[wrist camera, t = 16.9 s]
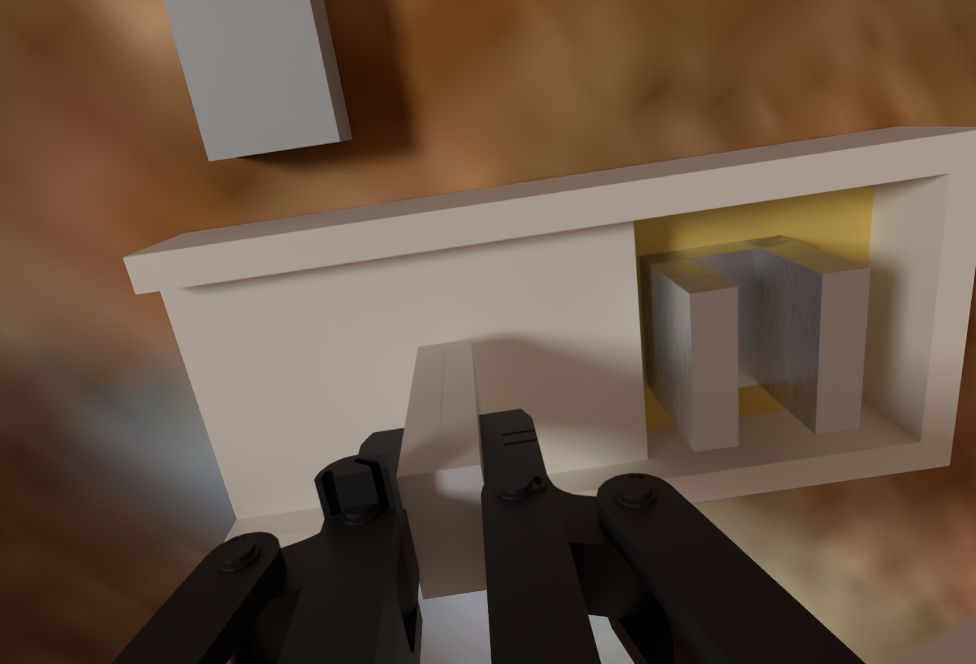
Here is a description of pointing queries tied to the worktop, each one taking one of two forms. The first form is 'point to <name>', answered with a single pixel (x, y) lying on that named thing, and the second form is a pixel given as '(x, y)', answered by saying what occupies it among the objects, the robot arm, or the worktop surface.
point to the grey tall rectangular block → (259, 74)
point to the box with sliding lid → (570, 317)
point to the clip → (754, 334)
